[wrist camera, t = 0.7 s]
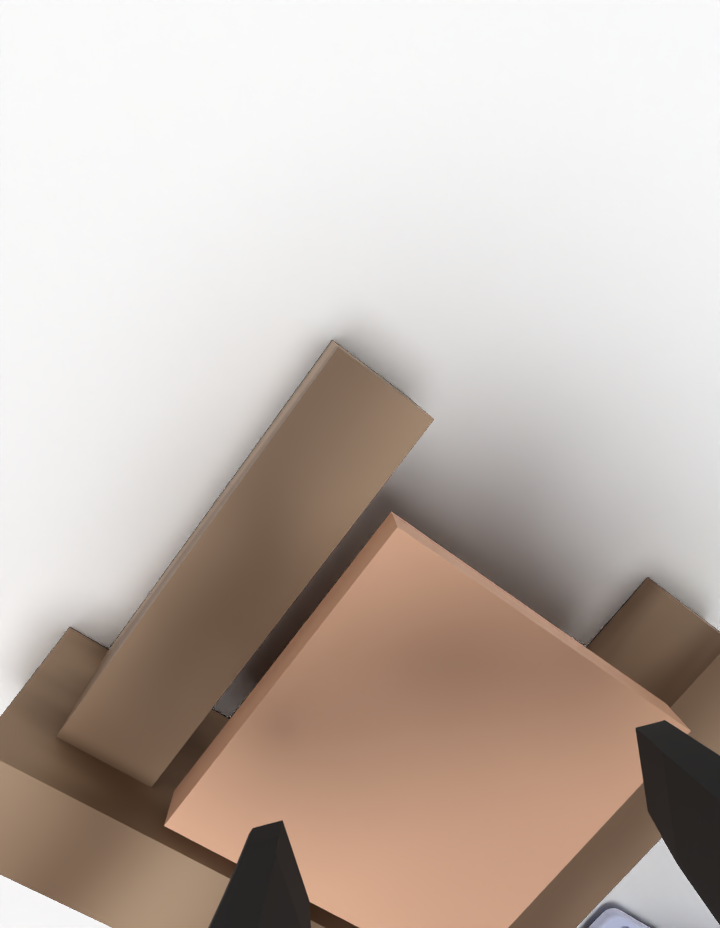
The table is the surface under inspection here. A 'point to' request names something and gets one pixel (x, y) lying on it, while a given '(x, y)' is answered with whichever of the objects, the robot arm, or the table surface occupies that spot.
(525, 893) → the trapdoor
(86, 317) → the table surface
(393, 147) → the table surface
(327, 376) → the frame
